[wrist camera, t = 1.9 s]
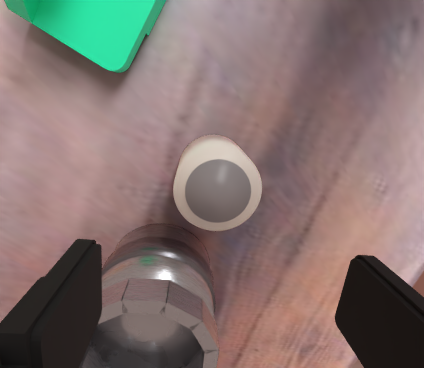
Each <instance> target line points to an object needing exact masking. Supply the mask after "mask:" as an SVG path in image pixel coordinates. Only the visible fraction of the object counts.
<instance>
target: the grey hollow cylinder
mask: <svg viewBox="0 0 424 368" xmlns="http://www.w3.org/2000/svg"><path fill="white" fill-rule="evenodd" d="M214 312H215V293H214V283H213V276H212V272H211V269H210V262H209V257H208V253H207V251H206V249H205V247H204V246H203V244H202V243H201V242H200V240H199V239H198V238H197V237H196V236H194V235H193V234H192V233H190V232H189V231H187V230H185V229H183V228H180V227H178V226H174V225H170V224H150V225H146V226H142V227H140V228H137V229H135V230H133V231H131V232H130V233H129V234H127V235H126V236H125V237H124V238H123V239H122V240H121V241H120V242H119V244H118V245H117V247H116V249H115V251H114V252H113V253H112V254H111V256H110V257H109V258H108V259H107V261H106V263H105V264H104V266H103V268H102V313H101V317H100V320H99V322H98V325H97V327H96V329H95V331H94V334H93V336H92V338H91V341H90V343H89V345H88V348H87V350H86V352H85V355H84V357H83V359H82V362H81V364H80V366H79V368H217V361H218V354H219V343H218V332H217V324H216V322H215V320H214Z"/></svg>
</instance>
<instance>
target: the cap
mask: <svg viewBox="0 0 424 368" xmlns="http://www.w3.org/2000/svg"><path fill="white" fill-rule="evenodd" d="M261 194H262V182H261V177H260V174H259V172H258V170H257V168H256V166H255V165H254V163H253V162H252V161H251V160H250V159H249V158H248V156H247V155H246V154H245V153H244V152H243V151H242V149H241V148H240V147H239V146H238V145H237V144H236V143H235V142H234V141H232V140H231V139H229V138H227V137H224V136H221V135H205V136H202V137H199V138H197V139H195V140H194V141H192V142H191V143H190V144H189V145H188V146H187V147H186V148H185V150H184V151H183V153H182V155H181V158H180V161H179V165H178V169H177V172H176V176H175V180H174V185H173V195H174V200H175V204H176V206H177V208H178V210H179V211H180V213H181V214H182V216H183V217H184V218H185V219H186V220H187V221H189V222H190V223H191V224H193V225H195V226H197V227H199V228H201V229H205V230H210V231H224V230H228V229H232V228H234V227H237V226H239V225H240V224H242V223H243V222H245V221H246V220H247V219H248V218H249V217H250V216H251V215H252V214H253V213H254V211H255V210H256V208H257V206H258V204H259V202H260V199H261Z"/></svg>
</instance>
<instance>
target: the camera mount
mask: <svg viewBox="0 0 424 368" xmlns="http://www.w3.org/2000/svg"><path fill="white" fill-rule="evenodd" d="M4 1H5V3H6V5H7V7H8V9H9V10H11V11H12V12H14V13H16V14H17V15H19V16H20V17H22V18H24V19H25V20H27V21H29V22H30V23H32V24H33V25H35V26H37V27H38V28H40V29H41V30H43V31H45V32H46V33H48V34H50V35H51V36H53V37H54V38H56V39H58V40H59V41H61V42H62V43H64V44H66V45H67V46H69V47H71V48H72V49H74V50H75V51H77V52H79V53H80V54H82V55H83V56H85V57H87V58H88V59H90V60H92V61H93V62H95V63H96V64H98V65H100V66H101V67H103V68H105V69H107V70H110V71H113V72H117V73H120V72H124V71H126V70H127V69H128V68H129V67H130V65H131V63H132V61H133V59H134V57H135V55H136V53H137V51H138V49H139V47H140V45H141V43H142V41H143V39H144V37H145V35H148V36H149V34H150V32H151V30H152V28H153V26H154V24H155V22H156V20H157V18H158V16H159V14H160V12H161V10H162V8H163V6H164V4H165V2H166V0H4Z"/></svg>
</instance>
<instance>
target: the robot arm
mask: <svg viewBox="0 0 424 368" xmlns="http://www.w3.org/2000/svg"><path fill="white" fill-rule="evenodd" d="M101 313H102V260H101V245H100V244H96V241H95V240H87V239H77V240H76V241H75V242H74V243H73V244H72V245H71V247H70V248H69V249H68V250H67V251H66V253H65V254H64V255H63V256H62V257H61V258H60V260H59V261H58V262H57V263H56V264H55V265H54V267H53V268H52V269H51V270H50V271H49V272H48V274H47V275H46V276H45V277H41V278H40V279H39V280H37V282H36V283H35V284H34V285H33V286H32V287H31V288H30V290H29V291H28V292H27V293H26V294H25V295H24V296H23V298H22V299H21V300H20V301H19V302H18V303H17V304H16V306H15V307H14V308H13V309H12V310H11V311H10V312H9V314H8V315H7V316H6V317H5V318H4V319H3V320H2V322H1V323H0V368H79V366H80V364H81V362H82V359H83V357H84V355H85V352H86V350H87V348H88V345H89V343H90V341H91V338H92V336H93V334H94V331H95V329H96V327H97V325H98V322H99V320H100V317H101ZM335 322H336V325H337V327H338V328H339V330H340V331H341V333H342V334H343V336H344V337H345V339H346V341H347V342H348V344H349V345H350V347H351V348H352V350H353V351H354V353H355V354H356V356H357V357H358V359H359V360H360V362H361V364H362V365H363V367H364V368H424V297H423V296H421V295H420V294H419V293H418V292H417V291H416V290H414V289H413V288H412V287H411V286H410V285H408V284H407V283H406V282H405V281H404V280H402V279H401V278H400V277H399V276H398V275H396V274H395V273H394V272H393V271H392V270H390V269H389V268H388V267H387V266H386V265H384V264H383V263H382V262H381V261H380V260H378V259H377V258H376V257H374V256H367V255H357V256H356V257H355V258H354V259H352V260H351V262H350V265H349V269H348V272H347V276H346V279H345V283H344V286H343V290H342V293H341V297H340V300H339V304H338V307H337V311H336V314H335Z"/></svg>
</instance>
